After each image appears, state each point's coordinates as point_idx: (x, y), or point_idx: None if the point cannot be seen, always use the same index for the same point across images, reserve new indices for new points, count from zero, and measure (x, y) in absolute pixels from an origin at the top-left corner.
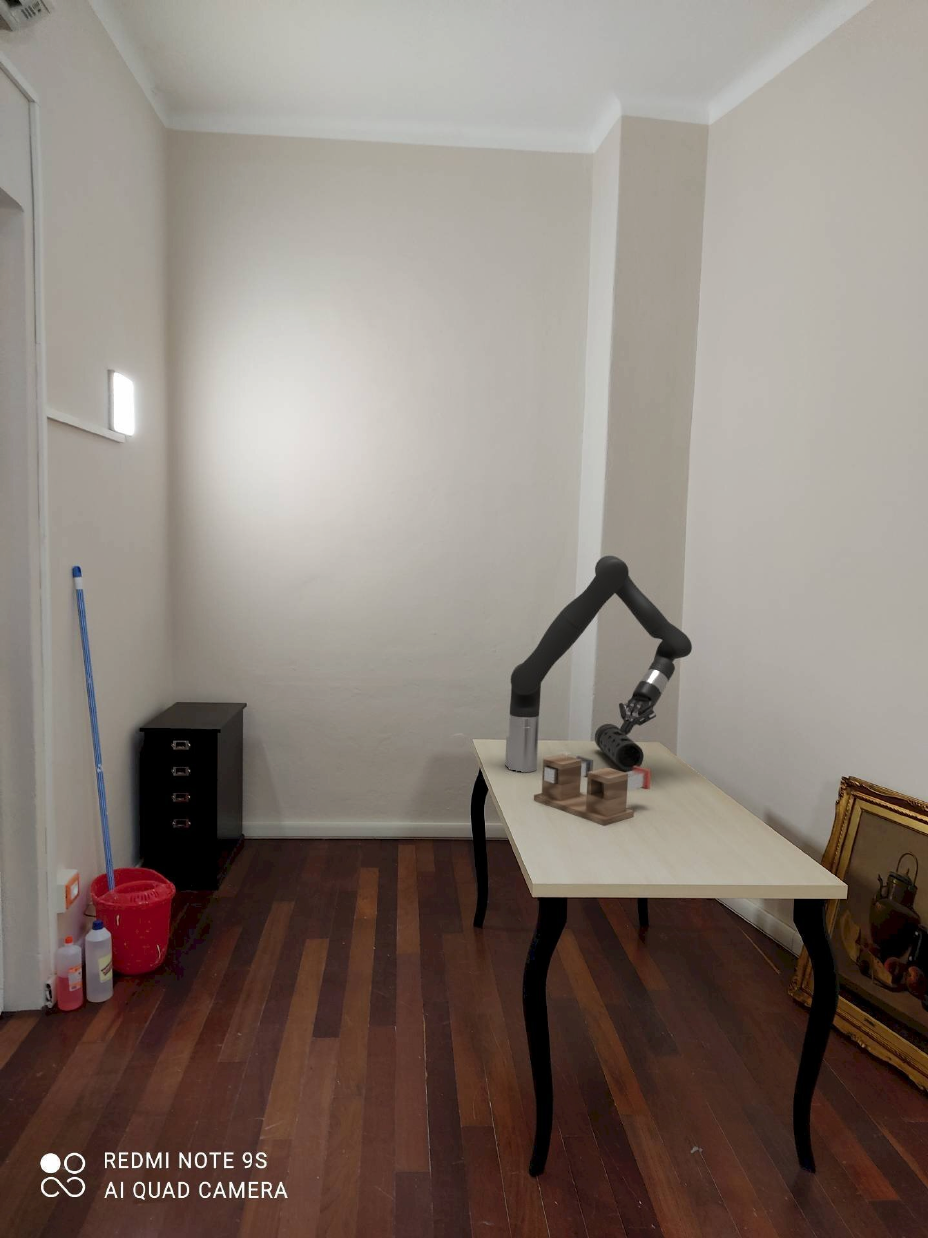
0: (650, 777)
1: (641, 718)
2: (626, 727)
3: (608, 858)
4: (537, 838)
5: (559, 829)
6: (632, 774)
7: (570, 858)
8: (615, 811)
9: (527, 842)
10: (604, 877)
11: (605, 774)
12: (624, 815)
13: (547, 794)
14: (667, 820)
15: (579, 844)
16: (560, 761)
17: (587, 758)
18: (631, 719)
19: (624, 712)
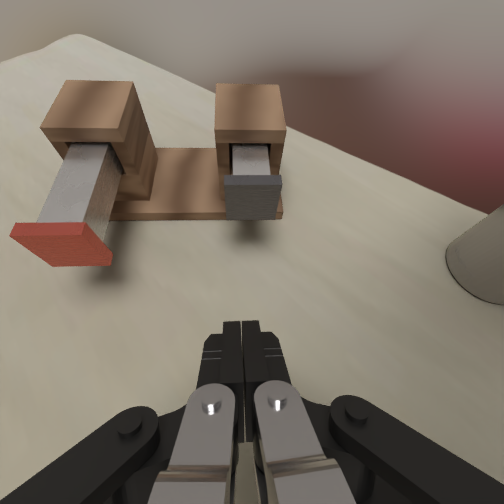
0: (28, 249)
1: (54, 463)
2: (222, 344)
3: (42, 91)
4: (152, 81)
5: (152, 110)
6: (65, 188)
7: (84, 70)
8: None
9: (153, 70)
10: (24, 63)
11: (88, 92)
12: None
13: None
14: (11, 256)
15: None
16: (236, 92)
17: (246, 182)
18: (202, 398)
19: (412, 501)
